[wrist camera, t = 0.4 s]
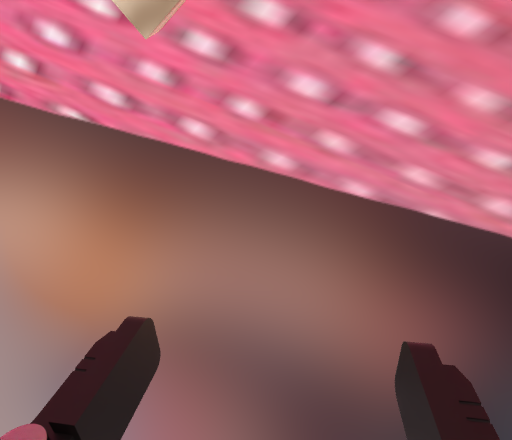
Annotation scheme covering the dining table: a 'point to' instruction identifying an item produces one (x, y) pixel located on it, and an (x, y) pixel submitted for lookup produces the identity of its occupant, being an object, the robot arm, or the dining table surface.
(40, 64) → the dining table surface
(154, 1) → the square beige frame
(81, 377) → the robot arm
